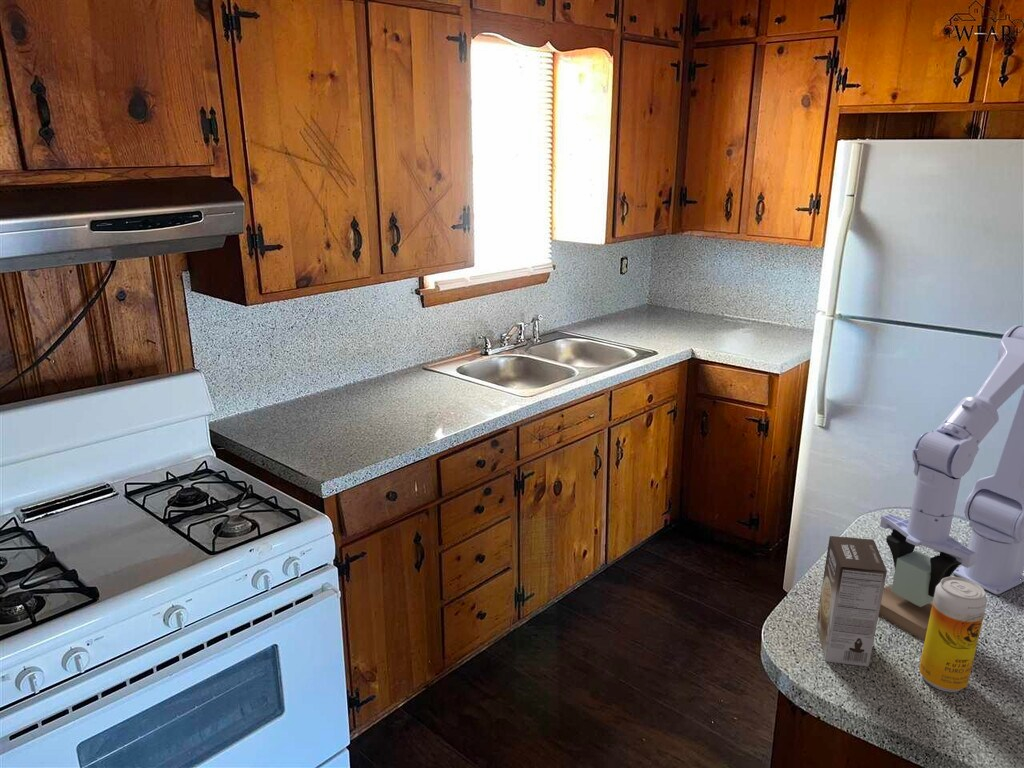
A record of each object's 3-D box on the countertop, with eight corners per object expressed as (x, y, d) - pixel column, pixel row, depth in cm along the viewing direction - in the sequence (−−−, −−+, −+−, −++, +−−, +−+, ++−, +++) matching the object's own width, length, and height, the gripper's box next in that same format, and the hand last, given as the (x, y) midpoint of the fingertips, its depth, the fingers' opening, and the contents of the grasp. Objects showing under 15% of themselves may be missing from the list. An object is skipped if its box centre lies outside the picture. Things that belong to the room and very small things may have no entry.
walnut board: (901, 591, 130) (904, 579, 129) (959, 623, 122) (962, 609, 121) (863, 609, 125) (866, 595, 125) (921, 642, 117) (924, 628, 116)
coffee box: (814, 625, 120) (828, 533, 115) (857, 630, 119) (873, 538, 114) (824, 662, 112) (840, 565, 107) (871, 668, 110) (889, 570, 106)
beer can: (946, 699, 105) (967, 604, 100) (908, 672, 110) (927, 580, 105) (977, 687, 107) (999, 594, 102) (938, 661, 112) (957, 571, 108)
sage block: (910, 582, 126) (916, 550, 124) (939, 598, 122) (946, 564, 120) (891, 591, 123) (897, 558, 121) (920, 607, 119) (927, 573, 117)
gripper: (873, 495, 122) (860, 570, 126) (963, 535, 110) (946, 616, 114) (901, 485, 125) (888, 559, 129) (991, 523, 113) (973, 603, 117)
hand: (917, 585), depth 122 cm, fingers closed on sage block, 5 cm apart
